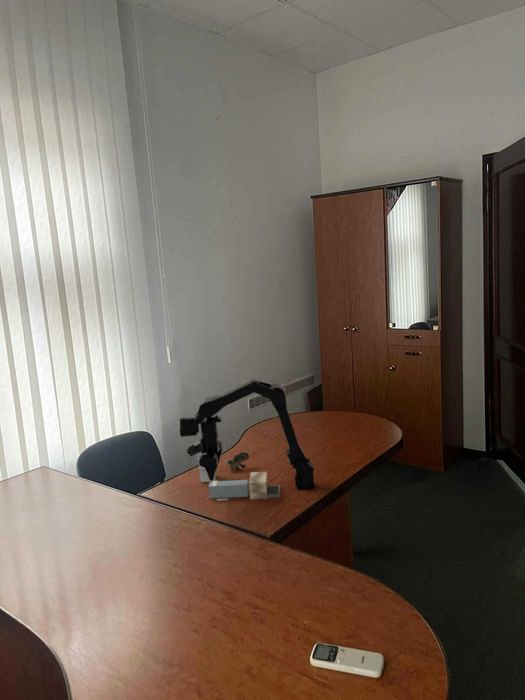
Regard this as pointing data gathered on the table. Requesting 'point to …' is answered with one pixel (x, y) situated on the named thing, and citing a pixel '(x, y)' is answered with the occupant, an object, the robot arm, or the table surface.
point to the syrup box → (204, 472)
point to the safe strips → (221, 499)
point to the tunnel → (258, 485)
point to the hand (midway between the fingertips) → (213, 475)
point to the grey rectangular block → (228, 489)
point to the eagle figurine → (237, 461)
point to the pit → (273, 491)
